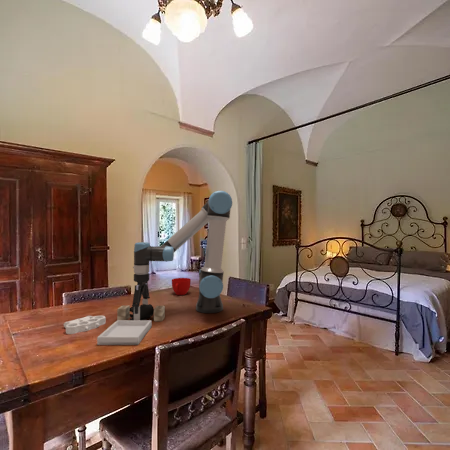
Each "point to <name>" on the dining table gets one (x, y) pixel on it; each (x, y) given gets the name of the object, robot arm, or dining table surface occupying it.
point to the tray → (125, 332)
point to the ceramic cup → (181, 285)
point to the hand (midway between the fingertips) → (141, 315)
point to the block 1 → (123, 313)
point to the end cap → (143, 311)
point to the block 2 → (159, 313)
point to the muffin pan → (84, 324)
